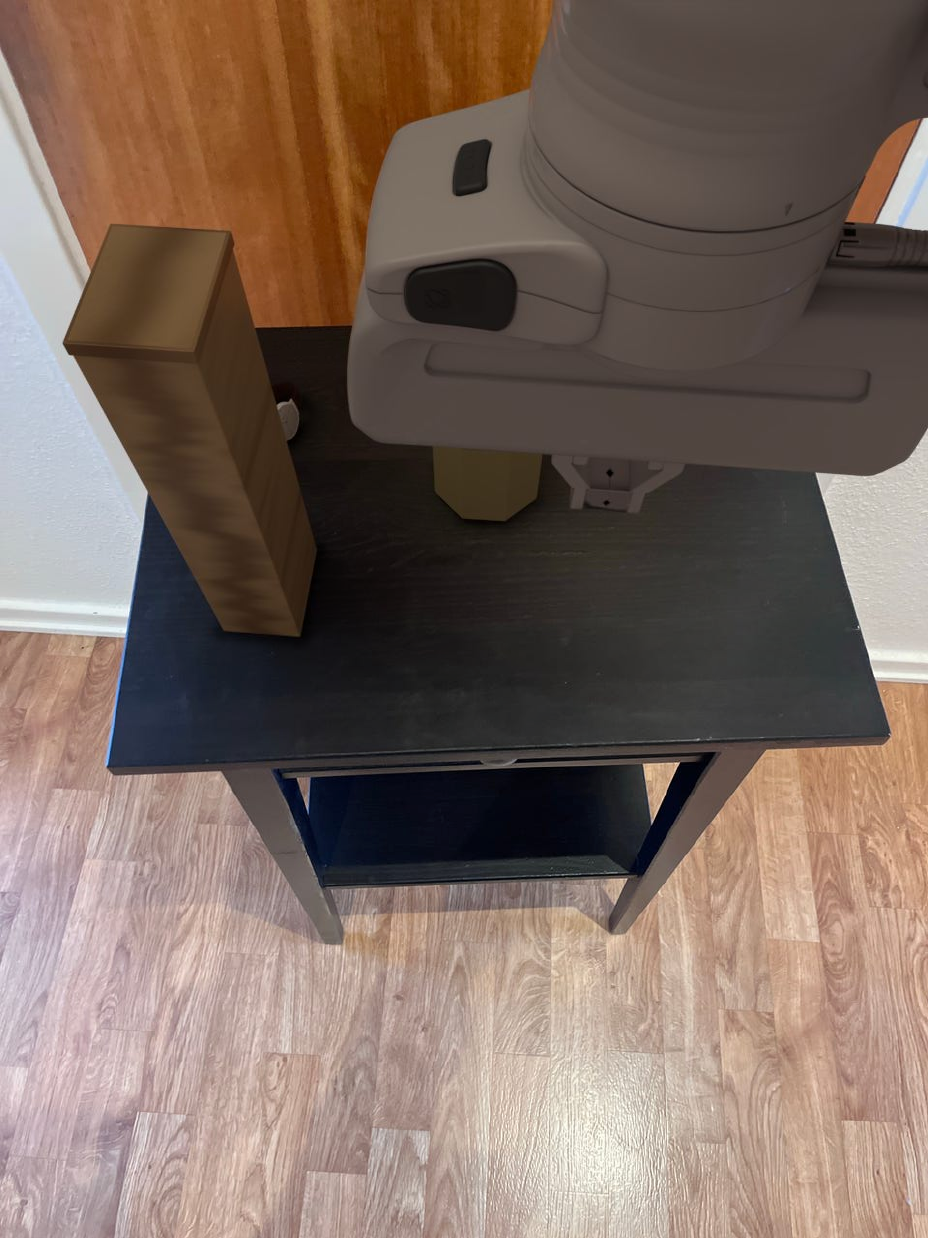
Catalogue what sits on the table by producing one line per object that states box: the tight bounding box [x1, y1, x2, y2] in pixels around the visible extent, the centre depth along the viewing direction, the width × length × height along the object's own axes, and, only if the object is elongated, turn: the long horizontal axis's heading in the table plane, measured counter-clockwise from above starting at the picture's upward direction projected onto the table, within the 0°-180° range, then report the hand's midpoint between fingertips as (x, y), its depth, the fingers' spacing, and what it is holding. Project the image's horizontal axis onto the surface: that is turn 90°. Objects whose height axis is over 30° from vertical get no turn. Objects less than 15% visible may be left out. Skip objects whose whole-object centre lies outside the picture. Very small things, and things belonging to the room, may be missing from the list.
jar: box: [432, 446, 543, 522], centre depth 66 cm, size 9×9×15 cm
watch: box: [271, 380, 303, 442], centre depth 74 cm, size 8×5×4 cm, turn 153°
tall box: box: [62, 223, 318, 638], centre depth 55 cm, size 6×8×30 cm
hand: (603, 498), depth 37 cm, fingers closed
